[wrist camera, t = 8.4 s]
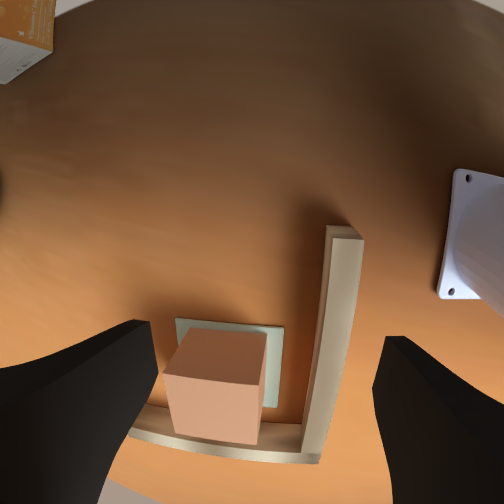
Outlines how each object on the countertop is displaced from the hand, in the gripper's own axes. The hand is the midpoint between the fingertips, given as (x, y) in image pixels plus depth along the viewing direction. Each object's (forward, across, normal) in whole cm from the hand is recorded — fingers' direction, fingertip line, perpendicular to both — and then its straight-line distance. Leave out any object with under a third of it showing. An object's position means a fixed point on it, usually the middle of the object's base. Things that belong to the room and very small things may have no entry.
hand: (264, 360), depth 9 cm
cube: (+9, +3, +7) cm, 12 cm away
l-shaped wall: (+9, +4, +6) cm, 12 cm away
